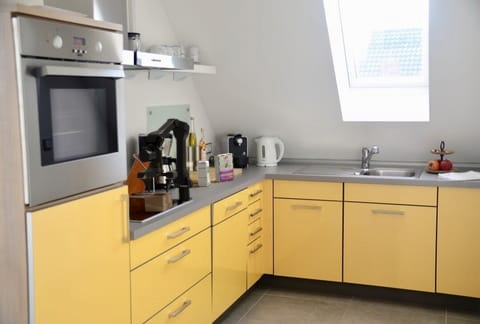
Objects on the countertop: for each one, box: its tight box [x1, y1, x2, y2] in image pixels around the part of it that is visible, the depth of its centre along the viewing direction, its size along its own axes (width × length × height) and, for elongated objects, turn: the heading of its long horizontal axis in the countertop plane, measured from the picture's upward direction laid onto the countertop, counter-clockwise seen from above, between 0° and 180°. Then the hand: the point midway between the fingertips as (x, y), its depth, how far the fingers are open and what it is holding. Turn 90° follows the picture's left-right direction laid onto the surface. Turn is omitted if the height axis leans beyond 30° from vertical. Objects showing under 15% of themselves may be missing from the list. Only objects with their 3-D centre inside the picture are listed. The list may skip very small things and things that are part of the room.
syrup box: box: [196, 160, 211, 187], centre depth 349 cm, size 6×6×14 cm
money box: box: [144, 192, 173, 213], centre depth 283 cm, size 11×9×7 cm
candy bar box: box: [213, 153, 235, 183], centre depth 364 cm, size 11×5×16 cm, turn 131°
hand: (158, 192), depth 282 cm, fingers open, 9 cm apart
